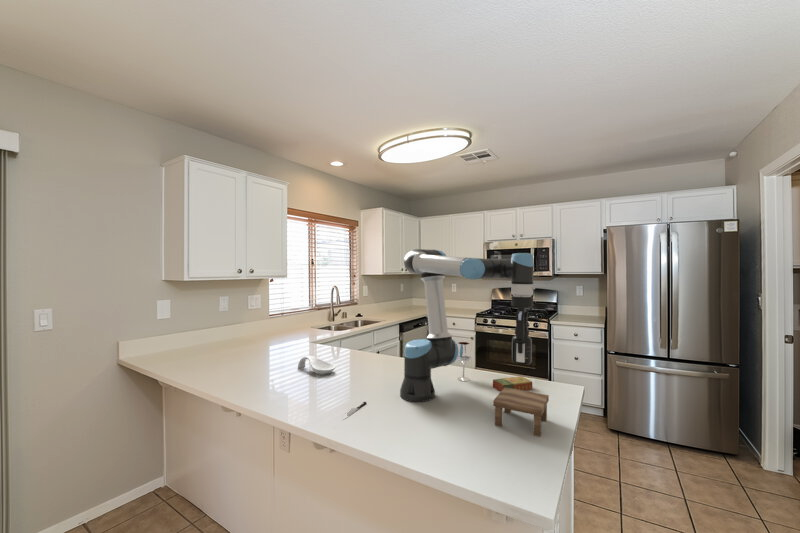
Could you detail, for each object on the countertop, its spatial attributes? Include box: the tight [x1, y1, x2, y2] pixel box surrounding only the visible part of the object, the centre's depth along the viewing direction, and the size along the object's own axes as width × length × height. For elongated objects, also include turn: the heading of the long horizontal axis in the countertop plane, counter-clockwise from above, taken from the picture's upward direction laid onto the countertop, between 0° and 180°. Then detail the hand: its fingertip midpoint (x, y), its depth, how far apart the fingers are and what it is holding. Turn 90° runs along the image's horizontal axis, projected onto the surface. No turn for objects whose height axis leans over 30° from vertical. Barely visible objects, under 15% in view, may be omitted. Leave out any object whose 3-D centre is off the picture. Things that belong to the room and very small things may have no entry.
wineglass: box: [456, 341, 473, 382], centre depth 173 cm, size 8×8×18 cm
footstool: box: [492, 387, 550, 437], centre depth 125 cm, size 16×16×9 cm
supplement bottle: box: [511, 327, 533, 365], centre depth 125 cm, size 7×7×12 cm
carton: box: [492, 375, 534, 393], centre depth 160 cm, size 8×16×4 cm, turn 108°
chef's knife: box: [346, 401, 367, 417], centre depth 133 cm, size 19×1×3 cm
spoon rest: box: [297, 355, 336, 376], centre depth 184 cm, size 24×12×7 cm, turn 57°
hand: (521, 359), depth 125 cm, fingers closed on supplement bottle, 7 cm apart
